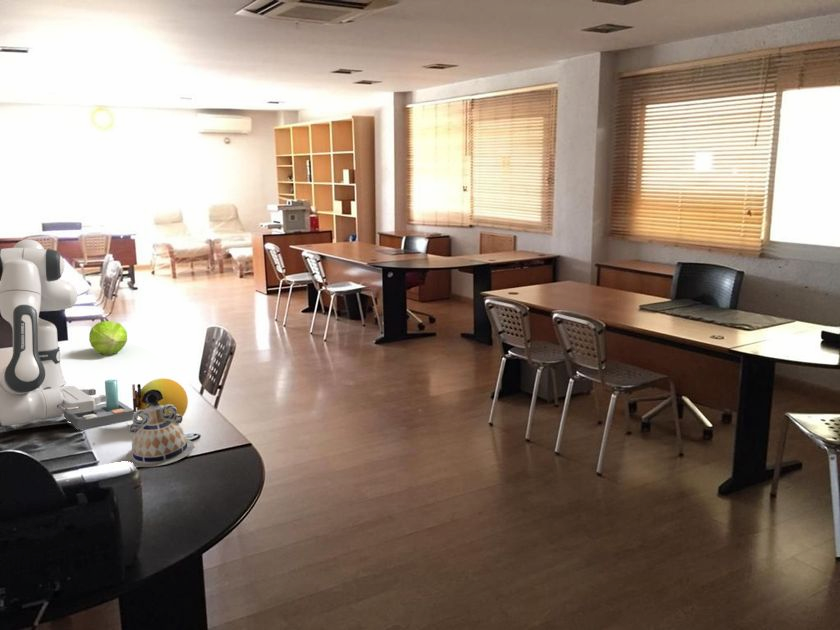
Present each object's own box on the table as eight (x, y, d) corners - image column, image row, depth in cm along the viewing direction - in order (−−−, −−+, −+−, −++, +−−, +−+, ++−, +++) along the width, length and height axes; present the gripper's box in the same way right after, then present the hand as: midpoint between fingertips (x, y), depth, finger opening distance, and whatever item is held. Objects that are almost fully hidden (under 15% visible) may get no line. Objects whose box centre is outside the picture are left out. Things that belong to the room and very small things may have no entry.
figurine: (125, 473, 177) (117, 400, 174) (125, 451, 193) (117, 385, 190) (197, 460, 184) (190, 390, 181) (191, 440, 200) (184, 376, 197)
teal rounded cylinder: (105, 418, 216) (103, 382, 214) (109, 415, 220) (106, 379, 218) (117, 418, 217) (115, 382, 215) (120, 415, 220) (118, 379, 218)
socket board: (64, 420, 214) (63, 410, 213) (119, 409, 226) (118, 400, 225) (77, 431, 205) (77, 420, 204) (134, 419, 216) (134, 409, 216)
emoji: (134, 420, 215) (131, 375, 213) (186, 415, 221) (184, 371, 219) (134, 437, 201) (132, 388, 198) (190, 431, 207) (189, 383, 204)
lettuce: (134, 353, 298) (96, 362, 290) (125, 343, 317) (89, 351, 309) (128, 322, 294) (89, 329, 286) (119, 313, 313) (82, 320, 305)
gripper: (63, 400, 197) (112, 392, 206) (42, 386, 211) (88, 378, 221) (64, 421, 198) (113, 412, 207) (43, 405, 212) (89, 397, 222)
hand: (100, 394), depth 214 cm, fingers open, 8 cm apart
